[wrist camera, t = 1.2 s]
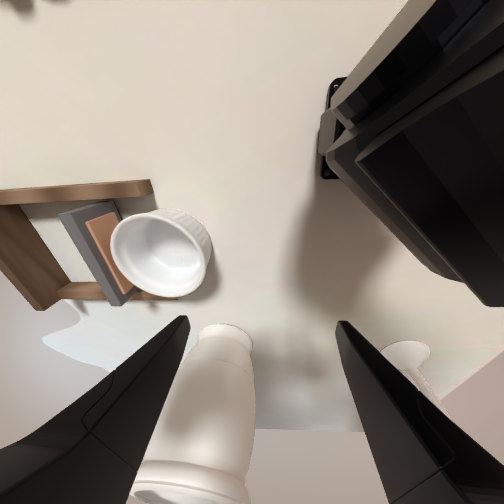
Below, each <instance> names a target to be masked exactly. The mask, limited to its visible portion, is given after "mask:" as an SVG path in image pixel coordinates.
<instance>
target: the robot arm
mask: <svg viewBox="0 0 504 504" xmlns="http://www.w3.org/2000/svg"><path fill="white" fill-rule="evenodd" d="M334 85H338V86H339V88H338V90H337V91H336V92H334V90H333V87H334ZM318 154H319V155H320V156H322V158H321V168H320V176H321V177H322V178H323V179H341V180H342V181H343V182H344V183H345V184H346V185H347V186H348V187H349V188H350V189H351V190H352V191H353V192H354V194H355V195H356V196H357V197H358V198H359V199H360V200H361V201H362V202H363V203H364V204H365V205H366V206H367V207H368V208H369V209H370V210H371V211H372V212H373V213H374V214H375V215H376V216H377V217H378V218H379V219H380V221H381V222H382V223H383V224H384V225H385V226H386V227H387V228H388V229H389V230H390V231H391V232H392V233H393V234H394V235H395V236H396V237H397V238H398V239H399V240H400V241H401V242H402V243H403V244H404V245H405V246H406V248H407V249H408V250H409V251H410V252H411V253H412V254H413V255H414V256H415V257H416V258H417V259H418V260H419V261H420V262H421V263H422V264H423V265H425V266H426V267H428V269H429V270H430V271H432V272H434V273H436V274H438V275H440V276H442V277H444V278H447V279H450V280H454V281H458V282H462V283H465V284H466V285H467V287H468V288H469V289H470V290H471V291H472V292H473V293H474V294H475V295H476V296H477V298H478V299H479V300H480V301H481V302H482V303H483V304H484V305H486V306H489V307H504V0H409V1H408V2H407V3H406V4H405V6H404V7H403V8H402V9H401V11H400V12H399V13H398V14H397V16H396V17H395V18H394V19H393V21H392V22H391V23H390V24H389V26H388V27H387V28H386V29H385V31H384V32H383V33H382V34H381V36H380V37H379V38H378V40H377V41H376V42H375V43H374V45H373V46H372V47H371V48H370V50H369V51H368V52H367V53H366V55H365V56H364V57H363V58H362V60H361V61H360V62H359V63H358V65H357V66H356V67H355V68H354V70H353V71H352V72H351V73H350V75H349V76H348V77H342V78H337V79H335V80H334V81H333V82H332V83H331V84H330V86H329V88H328V96H327V106H326V111H325V112H324V113H323V114H322V115H321V122H320V133H319V145H318ZM326 170H329V174H328V175H327V176H325V175H324V172H325V171H326ZM189 332H190V323H189V320H188V317H187V316H186V315H180V316H178V317H177V318H176V319H174V320H173V321H172V322H171V323H170V324H168V325H167V326H166V327H165V328H164V329H162V330H161V331H160V332H159V333H158V334H156V335H155V336H154V337H153V338H152V339H150V340H149V341H148V342H147V343H146V344H145V345H143V346H142V347H141V348H140V349H139V350H137V351H136V352H135V353H134V354H133V355H131V356H130V357H129V358H128V359H127V360H125V361H124V362H123V363H122V364H121V365H120V366H118V367H117V368H116V370H114V371H112V372H111V373H110V374H109V375H108V376H106V377H105V378H104V379H103V380H102V381H100V382H99V383H98V384H97V385H95V386H94V387H93V388H92V389H90V390H89V391H88V392H86V393H85V394H84V395H82V396H81V397H80V398H79V399H77V400H76V401H75V402H73V403H72V404H71V405H69V406H68V407H67V408H65V409H64V410H63V411H61V412H60V413H59V414H57V415H56V416H54V417H53V418H52V419H51V420H49V421H48V422H46V423H45V424H44V425H42V426H41V427H40V428H38V429H37V430H35V431H34V432H33V433H31V434H29V435H28V436H26V437H24V438H23V439H21V440H19V441H17V442H15V443H13V444H11V445H9V446H6V447H4V448H2V449H0V504H126V501H127V498H128V496H129V493H130V491H131V488H132V486H133V483H134V481H135V478H136V475H137V471H138V470H139V467H140V465H141V462H142V460H143V457H144V455H145V452H146V450H147V447H148V444H149V442H150V439H151V437H152V434H153V432H154V429H155V426H156V424H157V421H158V419H159V416H160V414H161V411H162V409H163V406H164V403H165V401H166V398H167V396H168V393H169V391H170V388H171V386H172V383H173V380H174V378H175V375H176V373H177V370H178V368H179V365H180V362H181V360H182V357H183V353H184V350H185V346H186V343H187V339H188V336H189ZM335 335H336V340H337V344H338V348H339V353H340V357H341V362H342V366H343V369H344V372H345V375H346V378H347V381H348V384H349V387H350V390H351V393H352V396H353V399H354V402H355V405H356V408H357V411H358V414H359V417H360V419H361V422H362V425H363V428H364V431H365V434H366V437H367V440H368V443H369V446H370V449H371V452H372V455H373V458H374V461H375V464H376V466H377V469H378V472H379V475H380V478H381V481H382V484H383V487H384V490H385V492H386V496H387V499H388V502H389V504H504V465H502V464H501V463H500V462H499V461H498V460H496V459H495V458H494V457H493V456H492V455H491V454H490V453H488V452H487V451H486V450H485V449H484V448H483V447H481V446H480V445H479V444H478V443H477V442H476V441H474V440H473V439H472V438H471V437H470V436H469V435H468V434H466V433H465V432H464V431H463V430H462V429H461V428H460V427H458V426H457V425H456V424H455V423H454V422H453V421H452V420H451V419H449V418H448V417H447V416H446V415H445V414H444V413H443V412H442V411H441V410H440V409H439V408H437V407H436V406H435V405H434V404H433V403H432V402H431V401H430V400H429V399H428V398H427V397H426V396H425V395H424V394H423V393H422V392H421V391H418V389H417V388H416V387H415V386H414V385H413V384H412V383H411V382H410V381H409V380H408V379H407V378H406V377H405V376H404V375H403V374H402V373H401V372H400V371H399V370H398V369H397V368H396V367H395V366H394V365H393V364H392V363H390V362H389V361H388V360H387V359H386V358H385V357H384V356H383V355H382V354H381V353H380V352H379V351H378V350H377V349H376V348H375V347H374V346H373V345H372V344H371V343H370V342H369V341H368V340H367V339H366V338H365V337H364V336H362V335H361V334H360V333H359V332H358V331H357V330H356V329H355V328H354V327H353V326H352V325H351V324H350V323H349V322H348V321H341V320H340V321H338V323H337V327H336V331H335Z"/></svg>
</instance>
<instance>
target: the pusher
mask: <svg viewBox="0 0 504 504" xmlns="http://www.w3.org/2000/svg"><path fill="white" fill-rule="evenodd" d="M57 215H58V217H59V219H60V220H61V222H62V224H63V225H64V227H65V229H66V230H67V232H68V234H69V235H70V237H71V239H72V240H73V242H74V244H75V246H76V247H77V249H78V251H79V252H80V254H81V256H82V257H83V259H84V261H85V262H86V264H87V266H88V267H89V269H90V271H91V272H92V274H93V276H94V278H95V279H96V281H97V283H98V284H99V286H100V288H101V289H102V291H103V293H104V294H105V296H106V298H107V299H108V301H109V303H110V304H111V306H122V305H123V304H124V303H125V302H126V301H127V300H128V299H129V298H130V297H131V296H132V295H133V294H134V293H135V292H136V291H137V290H138V289H139V287H137V286H135V285H134V284H133V283H131V282H130V281H129V280H128V279H127V278H126V277H125V276H124V275H123V274H122V273H121V271H120V270H119V269H118V267H117V266H116V264H115V262H114V260H113V257H112V254H111V247H110V241H111V235H112V233H113V231H114V229H115V227H116V226H117V225H118V224H119V223H120V222H121V221H122V220H121V218H120V216H119V213H118V211H117V209H116V206H115V204H114V202H113V201H101V202H97V203H94V204H90V205H87V206H83V207H80V208H76V209H73V210H69V211H66V212H62V213H59V214H57Z"/></svg>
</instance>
